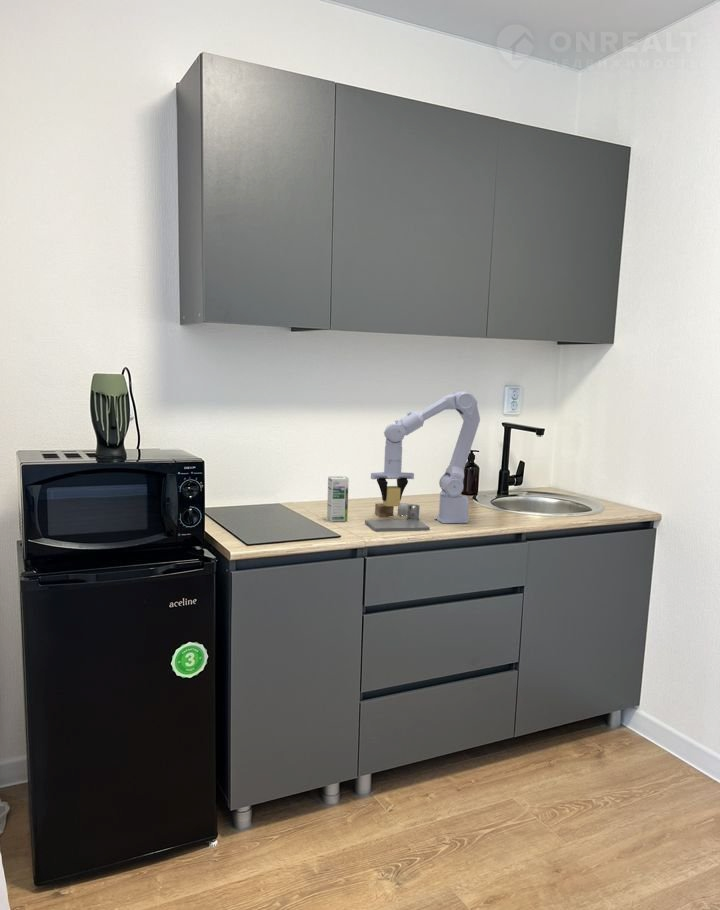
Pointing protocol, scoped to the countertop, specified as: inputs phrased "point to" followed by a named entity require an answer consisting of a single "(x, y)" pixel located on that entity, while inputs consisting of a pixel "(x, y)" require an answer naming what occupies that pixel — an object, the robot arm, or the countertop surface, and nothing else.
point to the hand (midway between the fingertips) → (391, 500)
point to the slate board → (396, 525)
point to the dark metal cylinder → (413, 512)
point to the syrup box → (337, 498)
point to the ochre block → (392, 496)
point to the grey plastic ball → (403, 509)
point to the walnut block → (383, 510)
